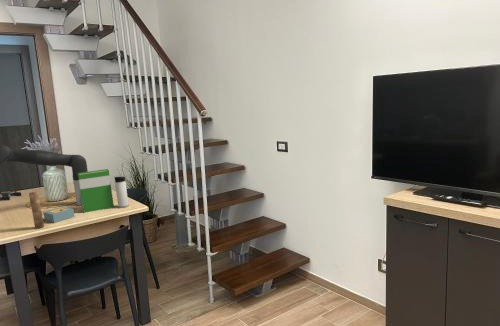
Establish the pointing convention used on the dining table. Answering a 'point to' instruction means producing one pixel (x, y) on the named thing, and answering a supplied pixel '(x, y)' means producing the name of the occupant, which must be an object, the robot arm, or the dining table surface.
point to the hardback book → (95, 190)
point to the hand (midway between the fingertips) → (15, 196)
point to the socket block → (58, 214)
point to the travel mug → (121, 192)
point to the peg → (36, 210)
